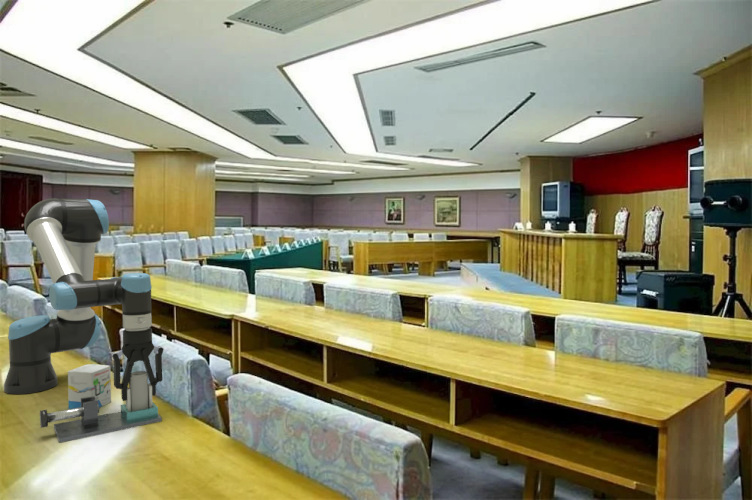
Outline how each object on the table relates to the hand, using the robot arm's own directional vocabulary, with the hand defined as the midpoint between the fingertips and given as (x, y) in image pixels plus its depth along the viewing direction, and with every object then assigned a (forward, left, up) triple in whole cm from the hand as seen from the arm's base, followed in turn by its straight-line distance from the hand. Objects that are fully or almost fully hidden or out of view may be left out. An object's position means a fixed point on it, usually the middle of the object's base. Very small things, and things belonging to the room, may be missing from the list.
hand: (139, 408), depth 154 cm
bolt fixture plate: (0, -8, -3) cm, 8 cm away
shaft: (0, -17, 0) cm, 17 cm away
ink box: (-20, -10, -3) cm, 22 cm away
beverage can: (0, 0, -2) cm, 2 cm away
